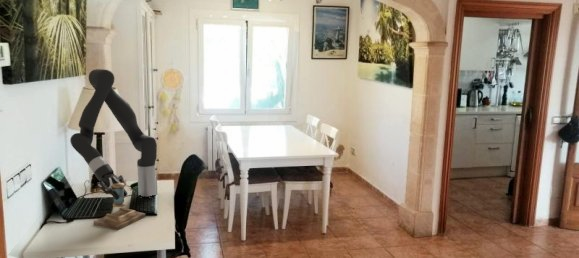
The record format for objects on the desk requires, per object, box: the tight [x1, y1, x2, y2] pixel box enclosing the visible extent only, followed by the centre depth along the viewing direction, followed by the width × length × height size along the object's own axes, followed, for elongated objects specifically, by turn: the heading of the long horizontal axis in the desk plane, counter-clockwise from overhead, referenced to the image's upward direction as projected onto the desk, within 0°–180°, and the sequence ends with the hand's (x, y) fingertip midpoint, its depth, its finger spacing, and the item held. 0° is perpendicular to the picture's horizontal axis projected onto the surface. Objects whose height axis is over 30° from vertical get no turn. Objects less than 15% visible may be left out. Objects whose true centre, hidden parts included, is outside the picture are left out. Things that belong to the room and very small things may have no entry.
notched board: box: [93, 207, 146, 231], centre depth 209 cm, size 18×14×4 cm
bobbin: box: [112, 183, 126, 208], centre depth 207 cm, size 5×5×10 cm
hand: (122, 197), depth 207 cm, fingers closed on bobbin, 4 cm apart
